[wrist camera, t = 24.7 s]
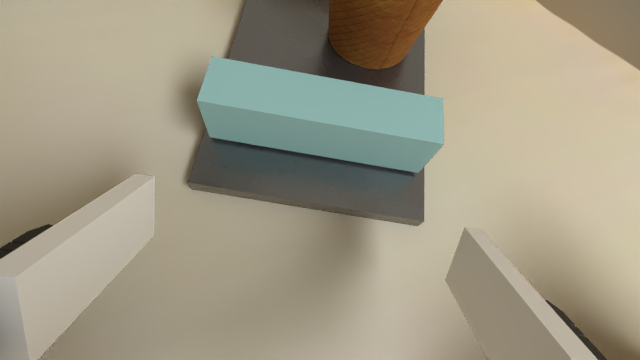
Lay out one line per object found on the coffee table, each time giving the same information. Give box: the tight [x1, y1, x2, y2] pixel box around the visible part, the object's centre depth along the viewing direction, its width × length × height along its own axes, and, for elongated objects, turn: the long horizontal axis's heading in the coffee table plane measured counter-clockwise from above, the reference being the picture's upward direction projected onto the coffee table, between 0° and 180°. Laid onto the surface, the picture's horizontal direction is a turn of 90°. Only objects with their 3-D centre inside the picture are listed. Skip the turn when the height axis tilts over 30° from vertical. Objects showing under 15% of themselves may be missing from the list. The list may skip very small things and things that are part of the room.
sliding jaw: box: [197, 56, 444, 173], centre depth 20 cm, size 3×13×4 cm, turn 82°
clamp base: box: [188, 0, 424, 226], centre depth 24 cm, size 25×14×5 cm, turn 172°
